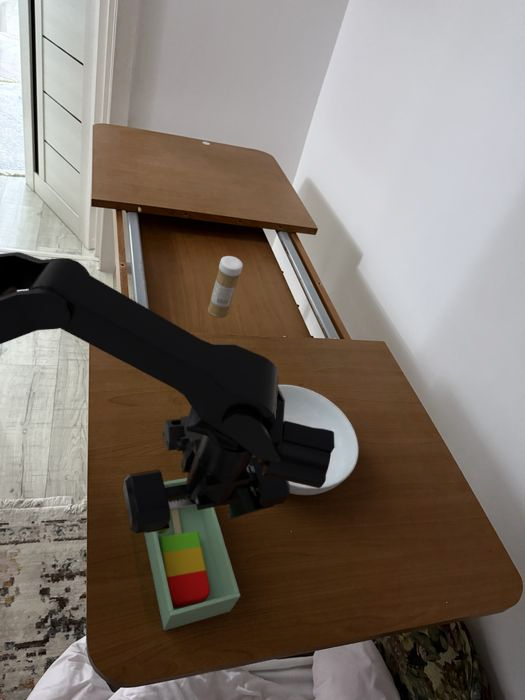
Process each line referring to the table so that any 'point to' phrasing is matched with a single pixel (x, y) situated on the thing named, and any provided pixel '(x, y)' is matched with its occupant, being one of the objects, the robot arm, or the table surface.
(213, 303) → the sprinkles bottle
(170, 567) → the popsicle
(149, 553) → the bin
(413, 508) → the table surface
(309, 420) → the serving bowl
